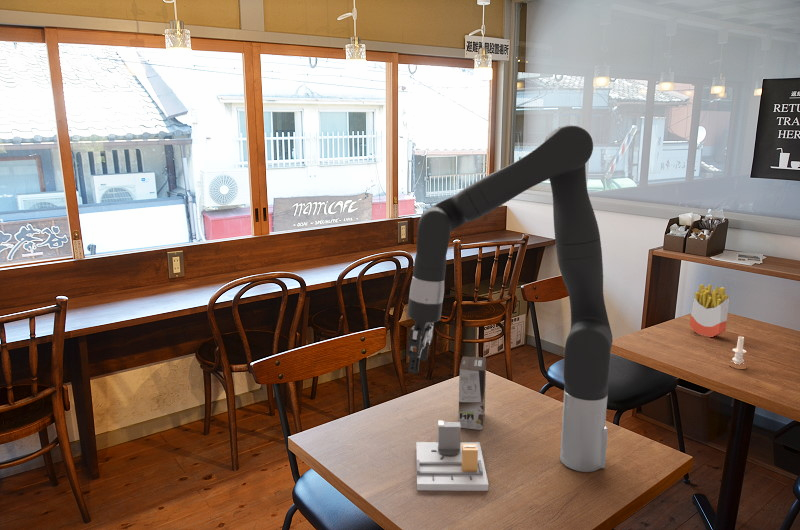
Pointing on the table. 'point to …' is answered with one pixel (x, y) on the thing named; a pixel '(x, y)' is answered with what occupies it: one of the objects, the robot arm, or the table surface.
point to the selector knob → (449, 438)
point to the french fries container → (709, 311)
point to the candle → (739, 351)
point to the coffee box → (472, 392)
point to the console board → (447, 470)
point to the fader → (469, 457)
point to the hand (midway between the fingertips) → (417, 366)
